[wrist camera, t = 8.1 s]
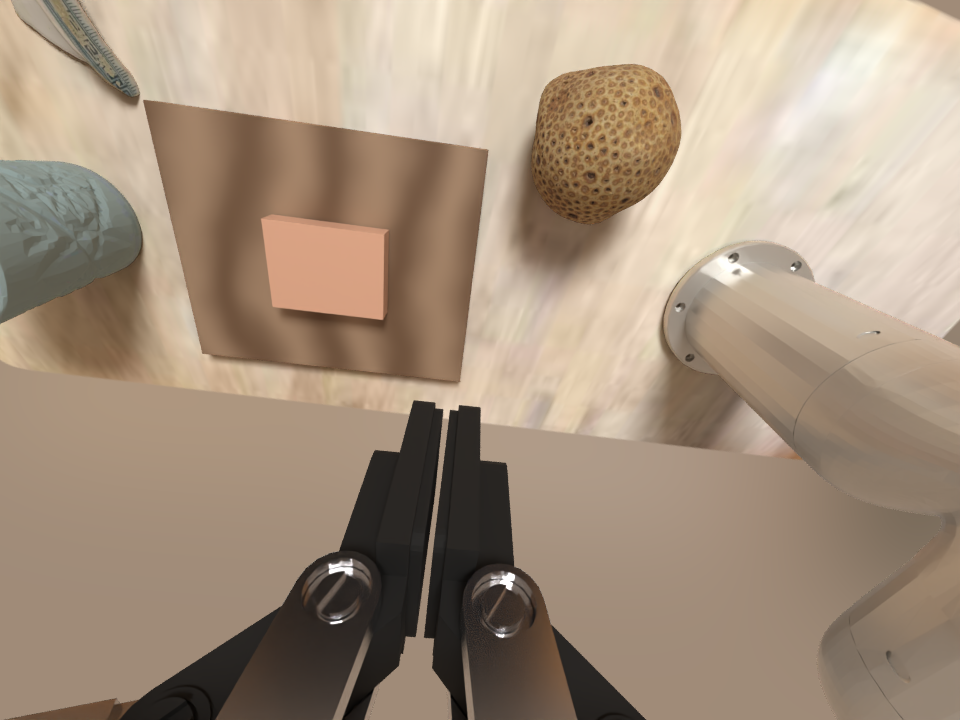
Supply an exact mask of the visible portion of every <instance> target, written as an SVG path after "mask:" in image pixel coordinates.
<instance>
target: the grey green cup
mask: <svg viewBox="0 0 960 720" xmlns="http://www.w3.org/2000/svg"><path fill="white" fill-rule="evenodd" d="M141 243H142V235H141V228H140V225H139V222H138V219H137V216H136V214H135V212H134V210H133V209H132V207H131V206H130V204H129V203H128V201H127V200H126V199H125V197H124V196H123V195H122V194H121V193H120V192H119V191H118V190H117V189H116V188H115V187H114V186H113V185H112V184H111V183H109V182H108V181H107V180H106V179H104V178H103V177H101V176H100V175H98V174H96V173H95V172H93V171H91V170H89V169H86V168H84V167H81V166H78V165H74V164H70V163H65V162H55V161H26V160H15V161H9V160H7V161H4V160H0V324H1V323H3V322H5V321H7V320H9V319H11V318H14V317H16V316H18V315H20V314H22V313H24V312H26V311H27V310H30V309H32V308H34V307H36V306H40V305H42V304H44V303H46V302H48V301H50V300H52V299H54V298H56V297H62V296H65V295H67V294H69V293H71V292H73V291H74V290H76V289H80V288H82V287H84V286H86V285H88V284H89V283H91V282H93V280H94V279H95V278H104V277H106V276H108V275H110V274H113V273H115V272H117V271H119V270H121V269H123V268H125V267H127V266H129V265H130V264H131V263H132V262H133V261H134V260H135V258H136V257H137V256H138V254H139V251H140V249H141Z"/></svg>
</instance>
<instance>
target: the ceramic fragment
mask: <svg viewBox="0 0 960 720" xmlns="http://www.w3.org/2000/svg"><path fill="white" fill-rule="evenodd" d="M11 1H12V4H13V6H14V9H15V12H16V14H17V15H18V17H19V18H20V19H22V20H23V21H24V22H25V23H27V24H28V25H30V26H31V27H32V28H34V29H35V30H36V31H37V32H39V33H40V34H41V35H42V36H43V37H45V38H46V39H47V40H49V41H50V42H52V43H53V44H55V45H56V46H58V47H60V48H61V49H62V50H64V51H66V52H67V53H69V54H71V55H73V56H74V57H76V58H78V59H80V60H82V61H84V62H86V63H88V64H89V65H90V66H91V67H92V68H93V70H94V71H95V72H96V73H97V74H98V75H99V76H100V77H101V78H102V79H103V80H104V81H105V82H106V83H108V84H109V85H111V86H112V87H114V88H115V89H117V90H119V91H120V92H122V93H124V94H126V95H128V96H130V97H134V96H138V95H139V93H140V91H139V88H138V85H137V83H136V81H135V79H134V77H133V76H132V74H131V73H130V72H129V71H128V69H127V68H126V67H125V66H124V65H123V64H122V63H121V61H120V60H119V59H118V58H117V57H116V55H115V54H114V53H113V52H112V50H111V49H110V48H109V47H108V46H107V44H106V43H105V42H104V41H103V39H102V38H101V36H100V35H99V33H98V31H97V30H96V28H95V27H94V26H93V24H92V23H91V21H90V20H89V18H88V17H87V15H86V13H85V12H84V10H83V9H82V7H81V6H80V4H79V3H78V1H77V0H11Z"/></svg>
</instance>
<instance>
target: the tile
mask: <svg viewBox="0 0 960 720" xmlns="http://www.w3.org/2000/svg"><path fill="white" fill-rule="evenodd" d="M261 222H262V229H263V237H264V245H265V253H266V260H267V268H268V276H269V283H270V291H271V299H272V306H273V307H277V308H286V309H294V310H303V311H311V312H320V313H328V314H337V315H345V316H354V317H362V318H371V319H379V320H383V319H384V317H385V315H386V313H387V307H388V254H389V230H388V229H380V228H372V227H365V226H357V225H350V224H342V223H334V222H327V221H319V220H312V219H304V218H296V217H289V216H281V215H274V214H272V215H269V216H266V217H264V218H261Z"/></svg>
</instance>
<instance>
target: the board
mask: <svg viewBox="0 0 960 720" xmlns="http://www.w3.org/2000/svg"><path fill="white" fill-rule="evenodd" d="M143 102H144V106H145V110H146V115H147V119H148V123H149V127H150V132H151V136H152V140H153V144H154V149H155V153H156V157H157V161H158V166H159V170H160V174H161V178H162V183H163V187H164V191H165V196H166V200H167V204H168V208H169V213H170V217H171V221H172V225H173V230H174V234H175V238H176V242H177V247H178V251H179V255H180V259H181V264H182V268H183V272H184V277H185V281H186V285H187V289H188V294H189V298H190V302H191V306H192V311H193V315H194V319H195V323H196V328H197V332H198V336H199V341H200V345H201V349H202V353H203V354H211V355H220V356H229V357H238V358H248V359H257V360H266V361H275V362H284V363H293V364H303V365H312V366H321V367H330V368H339V369H348V370H357V371H367V372H376V373H385V374H394V375H403V376H412V377H422V378H431V379H440V380H449V381H458V382H460V375H461V367H462V359H463V351H464V343H465V335H466V327H467V318H468V310H469V302H470V294H471V286H472V278H473V270H474V262H475V254H476V246H477V238H478V230H479V222H480V214H481V206H482V197H483V189H484V181H485V173H486V165H487V157H488V150H487V149H480V148H473V147H466V146H459V145H452V144H446V143H439V142H432V141H425V140H418V139H411V138H405V137H398V136H391V135H384V134H377V133H370V132H364V131H357V130H350V129H343V128H336V127H329V126H322V125H316V124H309V123H302V122H295V121H288V120H281V119H275V118H268V117H261V116H254V115H247V114H240V113H234V112H227V111H220V110H213V109H206V108H199V107H192V106H186V105H179V104H172V103H165V102H158V101H148V100H143ZM272 214H274V215H281V216H289V217H296V218H304V219H312V220H319V221H327V222H334V223H342V224H350V225H357V226H365V227H372V228H380V229H388V230H389V254H388V307H387V313H386V315H385V317H384V319H383V320H379V319H371V318H362V317H354V316H345V315H337V314H328V313H320V312H311V311H303V310H294V309H286V308H277V307H273V306H272V299H271V291H270V283H269V276H268V268H267V260H266V253H265V245H264V237H263V229H262V222H261V218H264V217H266V216H269V215H272Z"/></svg>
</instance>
